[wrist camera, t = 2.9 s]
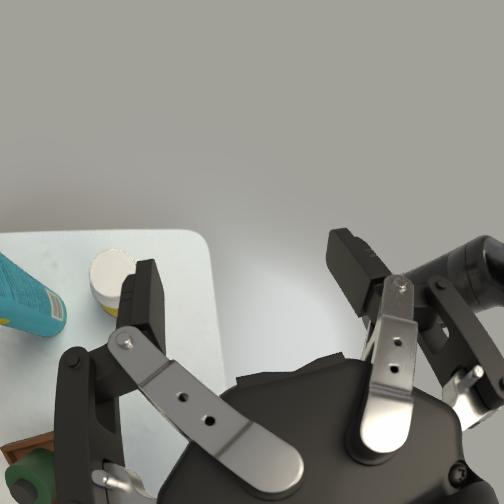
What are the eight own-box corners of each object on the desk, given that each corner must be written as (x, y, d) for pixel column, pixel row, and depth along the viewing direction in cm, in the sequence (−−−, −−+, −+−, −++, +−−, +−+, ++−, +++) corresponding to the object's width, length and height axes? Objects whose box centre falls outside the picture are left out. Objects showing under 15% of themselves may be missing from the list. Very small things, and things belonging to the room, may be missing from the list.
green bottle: (76, 481, 18) (57, 515, 10) (44, 489, 15) (19, 520, 8) (52, 443, 19) (23, 467, 11) (21, 451, 16) (-13, 473, 9)
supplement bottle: (150, 309, 28) (150, 290, 21) (109, 325, 26) (95, 312, 19) (133, 268, 29) (130, 236, 22) (94, 283, 27) (77, 255, 20)
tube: (16, 303, 23) (-93, 228, 6) (43, 275, 25) (-44, 171, 9) (55, 356, 23) (-58, 337, 6) (84, 326, 25) (-2, 266, 9)
